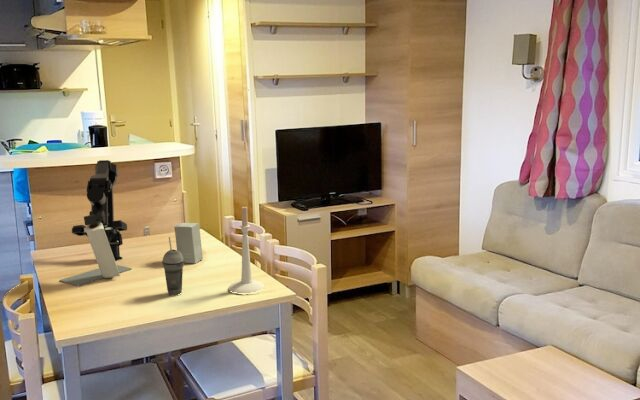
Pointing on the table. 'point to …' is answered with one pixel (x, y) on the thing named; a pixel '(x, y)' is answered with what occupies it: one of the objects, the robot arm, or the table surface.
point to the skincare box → (189, 242)
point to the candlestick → (245, 263)
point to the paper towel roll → (102, 250)
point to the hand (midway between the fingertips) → (99, 251)
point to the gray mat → (89, 276)
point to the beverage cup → (173, 270)
